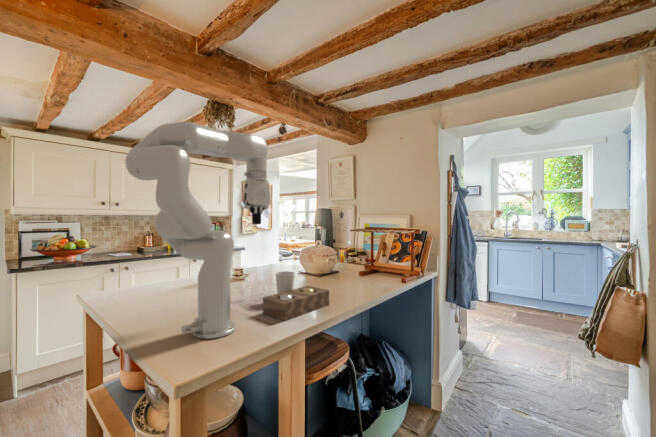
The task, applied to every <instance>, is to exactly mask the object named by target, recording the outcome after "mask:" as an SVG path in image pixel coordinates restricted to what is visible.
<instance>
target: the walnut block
mask: <svg viewBox="0 0 656 437" xmlns="http://www.w3.org/2000/svg"><path fill="white" fill-rule="evenodd" d="M304 288H313V289H314V292H312V293H309V294H308V293H304V292H303V289H304ZM282 294H291V295H292V299H288V300H283V299H280V295H282ZM329 305H330V289H326V288H320V287H316V286H315V287H314V286H309V285H305V286H301V287H298V288H293V290H290V291H286V292H282V293H278V294H277V293H276V294H270V295H268V296H264V297H262V314H263V315H265V314H266V316H268V315H269V316H268V317H271V316H272V318H274V317H275V318H274V319H277V318H278V319H277V320H280V319H281V320H280V321H283V322H287V321H289V320H292V319H295V318H297V317H300V316H303V315H306V314H309V313H312V312H314V311H316V310H319V309H322V308H324V307H327V306H329Z"/></svg>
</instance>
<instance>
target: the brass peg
mask: <svg viewBox="0 0 656 437" xmlns="http://www.w3.org/2000/svg"><path fill="white" fill-rule="evenodd" d="M303 292H304V293H308V294H309V293H312V292H314V289H313V288H304V289H303Z"/></svg>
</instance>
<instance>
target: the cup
mask: <svg viewBox="0 0 656 437" xmlns="http://www.w3.org/2000/svg"><path fill="white" fill-rule="evenodd" d="M295 276H296V275H295V272H294V271H288V270H287V271H278V272H275V279H276V280H275V281H276V294H278V293H282V292H286V291H290V290H294V283H295Z"/></svg>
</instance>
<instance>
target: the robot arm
mask: <svg viewBox="0 0 656 437" xmlns="http://www.w3.org/2000/svg"><path fill="white" fill-rule="evenodd" d="M268 151H269V148H268V145H267V143H266V141H265V139H263V138H262V137H260V136H257V135H254V134H251V133H244V132H236V131H231V130H230V131H228V130H221V129H218V128H213V127H210V126H207V125H203V124H200V123H197V122H193V121H178V122H177V121H176V122H171V123H163V124H161V125H159V126H157V127H156V128H154V129H153V130H151V131H150V132H149V133H148V134H147V135H146V136H145V137H144V138H143V139H141V140H140V141H139V142H138V143H137V144H135V145H134V146H133V147H132V148H131V149H130V150H129V151H128V153H126V154H127V155H126V157H125V161H124V162H125V163H124V164H125V168H126V169H127V172H128V173H129V174H130V175H131V176H132V177H134V178H135V179H137V180H141V181H155V180H156V188H155V201H156V202H155V203H156V205H157V207H158V208H159V209H160V211H159V212H158V213H157V214H156V216H155V220H154V221H155V222H154V226H155V229H156V233H157V234H158V236H159V237H161V239H162V240H163V241H165V243H167V244H168V245H169V246H170V247H171V248H172V249H173V250H174V251H175V252H176V253H177V254H178V255H180V256H181V257H183V258H184V259H188V260H197V261H203V262H202V265H201V267H200V268H199V271H198V275H197V318H194V321H193V322H192V323H191V324H186V325H182V326H181V327H180V331H181V333H182V334H184V333H188V332H189V333H190V334H191V335H192V336H193V337H194V338H198V339H202V340H203V339H204V340H205V339H207V340H208V339H210V340H211V339H217V338H222V337H226V336H228V335H230V334H232V333H234V332H235V330H236V328H237V327H236V326H237V325H236V323H235V322H233V321H231V270H232V269H231V266H232V259H233V253H234V248H235V247H234V246H235V244H234V243H235V242H234V238H233V237H232V235H231V234H229V233H228V232H226V231H224V230H219V229H218V230H217V229H215V230H214V229H213V222H212V219H211V218H210V216H209V215H208V213H207V211H206V210H205V209H204V207H202V206H201V204H200V203H199V202H198V201H197V200H196V198H195V197H194V196H193V194H192V192H191V191H190V188H189V176H190V175H189V174H190V169H191V160H190V156H189V154H195V155H202V156H209V157H213V158H231V159H232V160H235V161H237V162H246V171H245V172H244V174H243V175H244V176H246V179H245V180H244V184H243V190H242V191H243V194H242V201H243V208H244V209H246V210H248V211H250V214H251V221H252V222H251V223H252V225H261V224H262V215H263V212H264V211H265V210H268V209H269V206H270V205H271V199H272V198H271V189H270V183H269V180H267V161H268V160H267V156H268Z"/></svg>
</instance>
